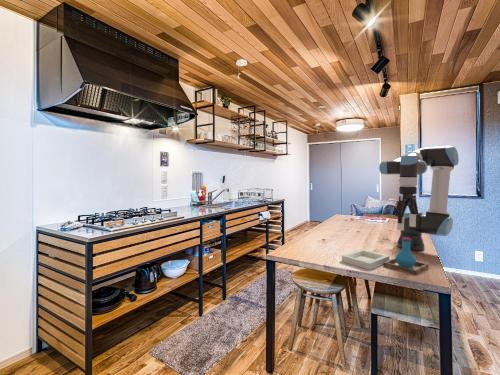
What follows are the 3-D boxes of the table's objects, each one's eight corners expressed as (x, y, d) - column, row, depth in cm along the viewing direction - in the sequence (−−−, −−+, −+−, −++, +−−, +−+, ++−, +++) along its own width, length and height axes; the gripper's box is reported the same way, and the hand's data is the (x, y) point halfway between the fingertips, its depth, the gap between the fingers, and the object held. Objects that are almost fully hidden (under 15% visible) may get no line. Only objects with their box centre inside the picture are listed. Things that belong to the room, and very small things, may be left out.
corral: (397, 260, 144) (397, 256, 144) (428, 268, 132) (428, 264, 132) (383, 266, 135) (383, 262, 135) (415, 275, 123) (415, 270, 123)
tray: (361, 254, 155) (361, 249, 154) (389, 261, 142) (389, 255, 142) (341, 261, 143) (341, 255, 142) (370, 269, 130) (370, 263, 130)
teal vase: (408, 263, 138) (409, 235, 137) (420, 270, 129) (421, 240, 128) (391, 264, 138) (392, 236, 137) (402, 270, 129) (403, 240, 128)
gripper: (410, 185, 142) (409, 224, 143) (388, 186, 127) (387, 229, 128) (426, 185, 136) (424, 226, 137) (404, 187, 121) (403, 232, 122)
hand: (406, 228), depth 132 cm, fingers open, 13 cm apart
